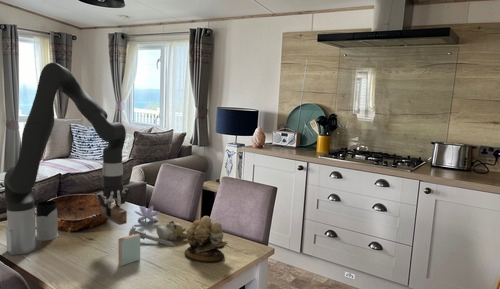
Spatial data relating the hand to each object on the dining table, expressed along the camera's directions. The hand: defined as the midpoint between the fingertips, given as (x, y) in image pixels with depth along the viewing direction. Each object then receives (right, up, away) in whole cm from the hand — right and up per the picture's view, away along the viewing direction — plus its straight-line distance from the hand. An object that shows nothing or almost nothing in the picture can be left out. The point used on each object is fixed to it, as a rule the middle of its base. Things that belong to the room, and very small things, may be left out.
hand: (113, 215), depth 148 cm
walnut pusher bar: (0, -1, 0) cm, 1 cm away
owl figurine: (+37, -17, +2) cm, 40 cm away
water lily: (+4, -11, +35) cm, 37 cm away
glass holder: (-36, -12, +12) cm, 40 cm away
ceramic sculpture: (+20, -14, +17) cm, 30 cm away
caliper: (+12, -15, +12) cm, 22 cm away
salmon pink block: (+9, -16, -7) cm, 20 cm away
